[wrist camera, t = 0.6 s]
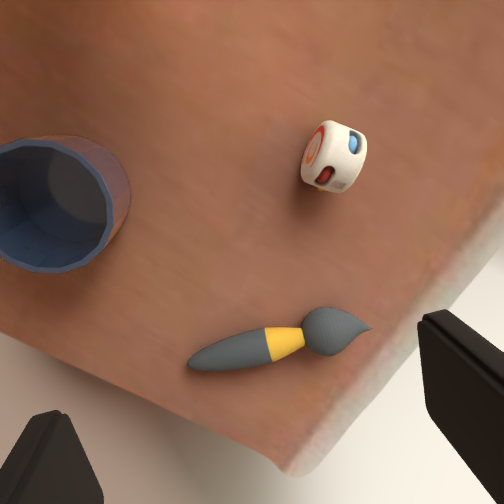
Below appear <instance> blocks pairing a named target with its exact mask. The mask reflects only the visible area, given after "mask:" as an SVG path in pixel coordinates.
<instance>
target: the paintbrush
mask: <svg viewBox="0 0 504 504" xmlns="http://www.w3.org/2000/svg"><path fill="white" fill-rule="evenodd" d="M370 329H372V328H371V327H369V326H368V325H366V324H365V323H364V322H363V321H361V320H360V319H358V318H357V317H355V316H354V315H352V314H350V313H348V312H345V311H343V310H340V309H336V308H332V307H320V308H317V309H314V310H313V311H311V312H310V313H309V314H308V315H307V316H306V318H305V319H304V321H303V324H302V328H288V327H269V328H260V329H256V330H252V331H248V332H244V333H241V334H238V335H235V336H232V337H229V338H227V339H224V340H221V341H219V342H217V343H214V344H212V345H210V346H208V347H206V348H204V349H202V350H200V351H199V352H197V353H196V354H194V355H193V356H192V357H191V358H190V359H189V360H188V361H187V366H188V367H190V368H192V369H195V370H200V371H228V370H237V369H245V368H251V367H256V366H260V365H265V364H268V363H272V362H274V361H277V360H279V359H281V358H283V357H285V356H287V355H289V354H290V353H292V352H294V351H296V350H298V349H299V348H301V347H303V346H304V345H306V346H307V347H308V348H309V349H310V350H311V351H313V352H314V353H316V354H318V355H322V356H333V355H336V354H338V353H340V352H341V351H342V350H344V349H345V348H346V347H347V346H348V345H349V344H350V343H351V342H352V341H353V340H354V339H355V338H356V337H357V336H358V335H360V334H361V333H363V332H365V331H368V330H370Z"/></svg>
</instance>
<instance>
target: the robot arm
mask: <svg viewBox="0 0 504 504" xmlns="http://www.w3.org/2000/svg"><path fill="white" fill-rule="evenodd" d="M417 330H418V339H419V348H420V357H421V366H422V375H423V385H424V393H425V403H426V408H427V411H428V413H429V415H430V417H431V419H432V420H433V421H434V423H435V424H436V425H437V427H438V428H439V429H440V430H441V432H442V433H443V434H444V436H445V437H446V438H447V440H448V441H449V442H450V443H451V445H452V446H453V447H454V449H455V450H456V451H457V452H458V454H459V455H460V456H461V458H462V459H463V460H464V461H465V463H466V464H467V466H468V467H469V468H470V469H471V471H472V472H473V473H474V475H475V476H476V477H477V479H478V480H479V481H480V482H481V484H482V485H483V486H484V488H485V489H486V490H487V492H488V493H489V494H490V495H491V497H492V498H493V499H494V501H495V502H496V503H497V504H504V352H502V351H501V350H499V349H498V348H497V347H496V346H494V345H493V344H492V343H490V342H489V341H488V340H486V339H485V338H484V337H482V336H481V335H480V334H478V333H477V332H476V331H475V330H473V329H472V328H471V327H469V326H468V325H467V324H465V323H464V322H463V321H461V320H460V319H459V318H457V317H456V316H455V315H454V314H452V313H451V312H450V311H448V310H446V309H444V310H440V311H436V312H432V313H428V314H424V315H423V318H422V321H420V322H418V324H417ZM0 504H104V496H103V492H102V489H101V487H100V485H99V482H98V480H97V478H96V476H95V473H94V471H93V469H92V467H91V465H90V462H89V460H88V458H87V456H86V453H85V451H84V449H83V447H82V444H81V442H80V440H79V438H78V435H77V433H76V431H75V429H74V427H73V424H72V422H71V420H70V418H69V416H68V415H67V414H62V413H61V412H60V411H58V410H53V411H50V412H46V413H42V414H38V415H35V416H33V417H32V418H31V419H30V420H29V422H28V424H27V425H26V427H25V429H24V430H23V432H22V434H21V435H20V437H19V439H18V440H17V442H16V444H15V446H14V447H13V449H12V450H11V452H10V454H9V455H8V457H7V459H6V460H5V462H4V464H3V466H2V467H1V469H0Z"/></svg>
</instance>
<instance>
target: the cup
mask: <svg viewBox="0 0 504 504" xmlns="http://www.w3.org/2000/svg"><path fill="white" fill-rule="evenodd" d="M130 199H131V192H130V185H129V181H128V178H127V175H126V173H125V171H124V169H123V167H122V166H121V164H120V163H119V161H118V160H117V159H116V158H115V156H114V155H113V154H112V153H110V152H109V151H108V150H107V149H106V148H104V147H103V146H101V145H100V144H98V143H96V142H94V141H92V140H89V139H87V138H84V137H81V136H72V135H51V136H42V137H32V138H23V139H19V140H16V141H13V142H10V143H7V144H5V145H2V146H0V257H1V258H3V259H4V260H5V261H6V262H8V263H10V264H12V265H15V266H17V267H20V268H23V269H25V270H28V271H30V272H33V273H54V274H61V273H65V272H68V271H71V270H74V269H77V268H79V267H82V266H85V265H87V264H88V263H89V262H90V261H91V260H92V259H93V258H94V257H95V256H97V255H98V254H99V253H100V252H101V251H102V250H103V249H104V248H105V247H106V245H107V244H108V243H109V241H110V240H111V239H112V238H113V236H114V235H115V234H116V232H117V231H118V230H119V229H120V227H121V226H122V224H123V222H124V220H125V218H126V216H127V213H128V210H129V208H130Z"/></svg>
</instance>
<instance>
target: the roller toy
mask: <svg viewBox="0 0 504 504" xmlns="http://www.w3.org/2000/svg"><path fill="white" fill-rule="evenodd" d="M366 151H367V142H366V139H365V136H364V135H363V134H362V133H360V132H358V131H355V130H353V129H351V128H348V127H346V126H344V125H341V124H339V123H336V122H334V121H330V120H328V121H325V122H323V123H321V124H320V125H319V126H318V127H317V129H316V130H315V132H314V133H313V135H312V137H311V139H310V140H309V143H308V145H307V147H306V150H305V152H304V156H303V159H302V163H301V177H302V179H303V181H304V182H306V183H308V184H311V185H313V186H316V188H317V189H318V190H319V191H325V190H327V191H330V192H333V193H336V194H338V193H342V192H344V191H346V190H347V189H348V188H349V187H350V186H351V185H352V184H353V182H354V181H355V179H356V178H357V176H358V174H359V173H360V171H361V168H362V166H363V163H364V160H365V156H366Z"/></svg>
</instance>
